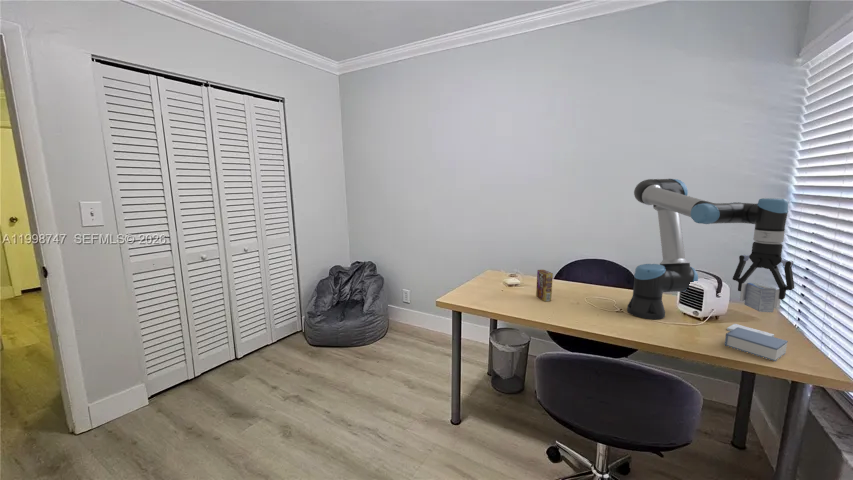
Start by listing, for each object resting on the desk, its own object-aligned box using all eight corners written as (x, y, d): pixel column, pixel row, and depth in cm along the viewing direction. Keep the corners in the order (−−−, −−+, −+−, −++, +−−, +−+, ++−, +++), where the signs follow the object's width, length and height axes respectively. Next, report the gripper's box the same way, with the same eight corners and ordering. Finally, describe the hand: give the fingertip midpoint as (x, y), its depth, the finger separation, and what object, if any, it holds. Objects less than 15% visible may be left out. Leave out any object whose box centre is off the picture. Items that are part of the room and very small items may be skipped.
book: (724, 345, 130) (726, 333, 129) (736, 339, 136) (737, 327, 135) (774, 362, 118) (777, 348, 117) (785, 353, 124) (787, 341, 123)
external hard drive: (734, 326, 148) (774, 337, 137) (726, 331, 144) (766, 342, 133) (734, 323, 148) (774, 333, 137) (727, 327, 143) (767, 338, 133)
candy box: (551, 301, 181) (553, 273, 178) (544, 301, 180) (545, 273, 177) (542, 295, 189) (544, 269, 187) (535, 296, 188) (536, 269, 186)
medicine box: (773, 313, 120) (777, 289, 119) (758, 312, 121) (761, 288, 120) (757, 305, 127) (760, 283, 126) (743, 304, 128) (746, 282, 127)
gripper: (725, 239, 128) (718, 297, 131) (808, 247, 110) (797, 314, 113) (733, 237, 132) (726, 294, 135) (815, 245, 113) (804, 310, 117)
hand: (758, 303), depth 124 cm, fingers closed on medicine box, 9 cm apart
